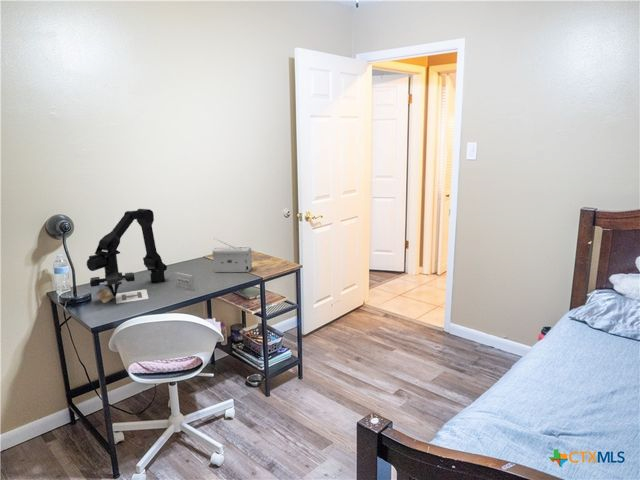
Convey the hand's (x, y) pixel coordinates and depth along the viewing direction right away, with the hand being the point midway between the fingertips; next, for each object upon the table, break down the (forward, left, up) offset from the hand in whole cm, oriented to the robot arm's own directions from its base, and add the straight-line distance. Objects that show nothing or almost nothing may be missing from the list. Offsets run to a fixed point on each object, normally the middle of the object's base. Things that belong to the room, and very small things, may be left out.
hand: (114, 296), depth 210 cm
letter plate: (-7, 0, -2) cm, 7 cm away
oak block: (+3, +1, 0) cm, 3 cm away
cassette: (-32, -1, -2) cm, 32 cm away
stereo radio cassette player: (-61, -18, -2) cm, 64 cm away
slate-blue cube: (+4, -12, -2) cm, 13 cm away
